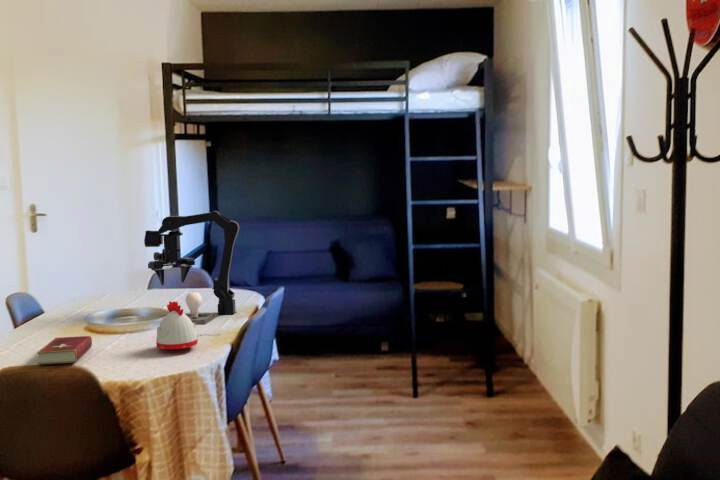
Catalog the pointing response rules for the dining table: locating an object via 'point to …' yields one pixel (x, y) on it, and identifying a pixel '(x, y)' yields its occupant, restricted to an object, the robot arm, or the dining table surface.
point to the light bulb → (194, 303)
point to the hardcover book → (64, 350)
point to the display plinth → (202, 318)
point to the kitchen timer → (176, 329)
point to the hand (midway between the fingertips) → (172, 284)
